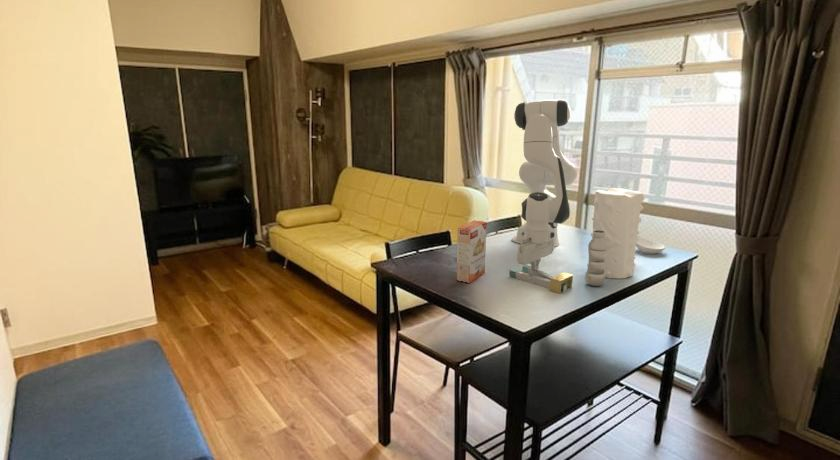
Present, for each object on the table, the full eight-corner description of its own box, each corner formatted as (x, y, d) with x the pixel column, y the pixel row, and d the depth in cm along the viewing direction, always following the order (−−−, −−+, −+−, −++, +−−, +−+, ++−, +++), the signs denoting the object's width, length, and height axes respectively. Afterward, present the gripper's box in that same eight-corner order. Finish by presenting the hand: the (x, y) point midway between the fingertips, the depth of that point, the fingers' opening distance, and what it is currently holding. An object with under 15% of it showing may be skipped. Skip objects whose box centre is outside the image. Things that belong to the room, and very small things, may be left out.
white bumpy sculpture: (578, 268, 183) (584, 189, 175) (609, 262, 189) (616, 186, 181) (611, 282, 168) (619, 196, 160) (643, 275, 174) (653, 192, 166)
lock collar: (572, 287, 164) (572, 274, 163) (559, 293, 158) (560, 281, 157) (561, 284, 167) (562, 272, 165) (549, 290, 161) (550, 278, 160)
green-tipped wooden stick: (568, 290, 161) (569, 282, 161) (563, 292, 159) (563, 285, 158) (514, 274, 178) (514, 267, 177) (509, 276, 175) (509, 269, 175)
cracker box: (470, 284, 168) (471, 229, 163) (456, 281, 171) (456, 227, 166) (486, 272, 180) (487, 221, 174) (472, 270, 183) (473, 219, 178)
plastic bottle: (581, 282, 169) (585, 229, 163) (599, 281, 169) (603, 228, 164) (589, 288, 162) (593, 234, 157) (607, 287, 163) (612, 233, 158)
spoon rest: (668, 252, 202) (670, 236, 200) (658, 258, 194) (660, 242, 192) (614, 242, 218) (616, 227, 217) (604, 247, 210) (605, 232, 209)
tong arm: (555, 283, 167) (555, 277, 166) (551, 284, 166) (551, 278, 165) (526, 271, 181) (526, 264, 180) (522, 271, 180) (522, 265, 179)
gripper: (527, 243, 165) (526, 278, 169) (557, 231, 179) (555, 265, 183) (513, 239, 170) (512, 274, 174) (543, 228, 183) (542, 261, 187)
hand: (534, 269), depth 178 cm, fingers closed
